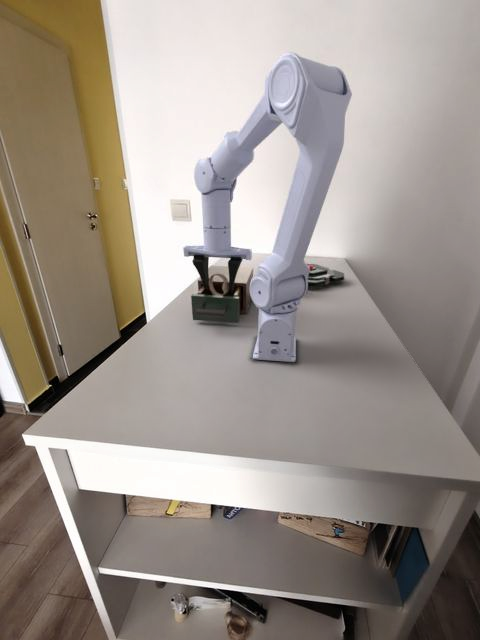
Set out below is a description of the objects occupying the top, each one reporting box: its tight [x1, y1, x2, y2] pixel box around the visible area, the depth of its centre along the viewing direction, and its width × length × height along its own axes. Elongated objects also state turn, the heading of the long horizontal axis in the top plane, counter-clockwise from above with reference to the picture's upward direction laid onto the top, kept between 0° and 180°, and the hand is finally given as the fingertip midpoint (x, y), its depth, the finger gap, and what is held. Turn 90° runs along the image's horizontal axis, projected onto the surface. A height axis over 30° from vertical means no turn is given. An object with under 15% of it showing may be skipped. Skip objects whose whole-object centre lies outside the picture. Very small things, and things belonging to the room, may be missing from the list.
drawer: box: [190, 285, 243, 324], centre depth 76 cm, size 17×10×6 cm, turn 175°
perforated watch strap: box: [208, 273, 229, 296], centre depth 75 cm, size 3×5×5 cm, turn 58°
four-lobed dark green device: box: [306, 262, 345, 288], centre depth 106 cm, size 18×18×5 cm
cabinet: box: [197, 265, 254, 314], centre depth 86 cm, size 14×12×8 cm
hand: (219, 289), depth 75 cm, fingers closed on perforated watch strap, 5 cm apart
